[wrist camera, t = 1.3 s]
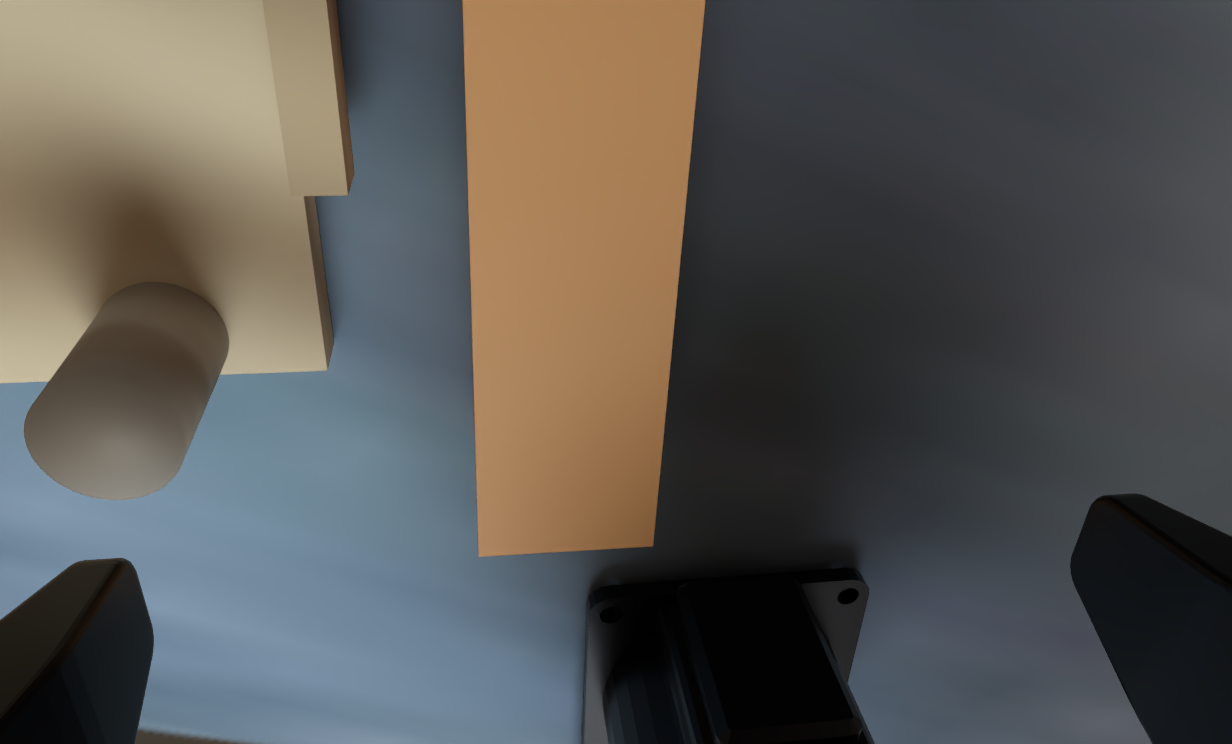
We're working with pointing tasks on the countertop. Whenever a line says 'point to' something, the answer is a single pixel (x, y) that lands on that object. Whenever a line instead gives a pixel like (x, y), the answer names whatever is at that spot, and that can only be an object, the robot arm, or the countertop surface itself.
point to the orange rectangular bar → (574, 260)
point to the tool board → (160, 217)
